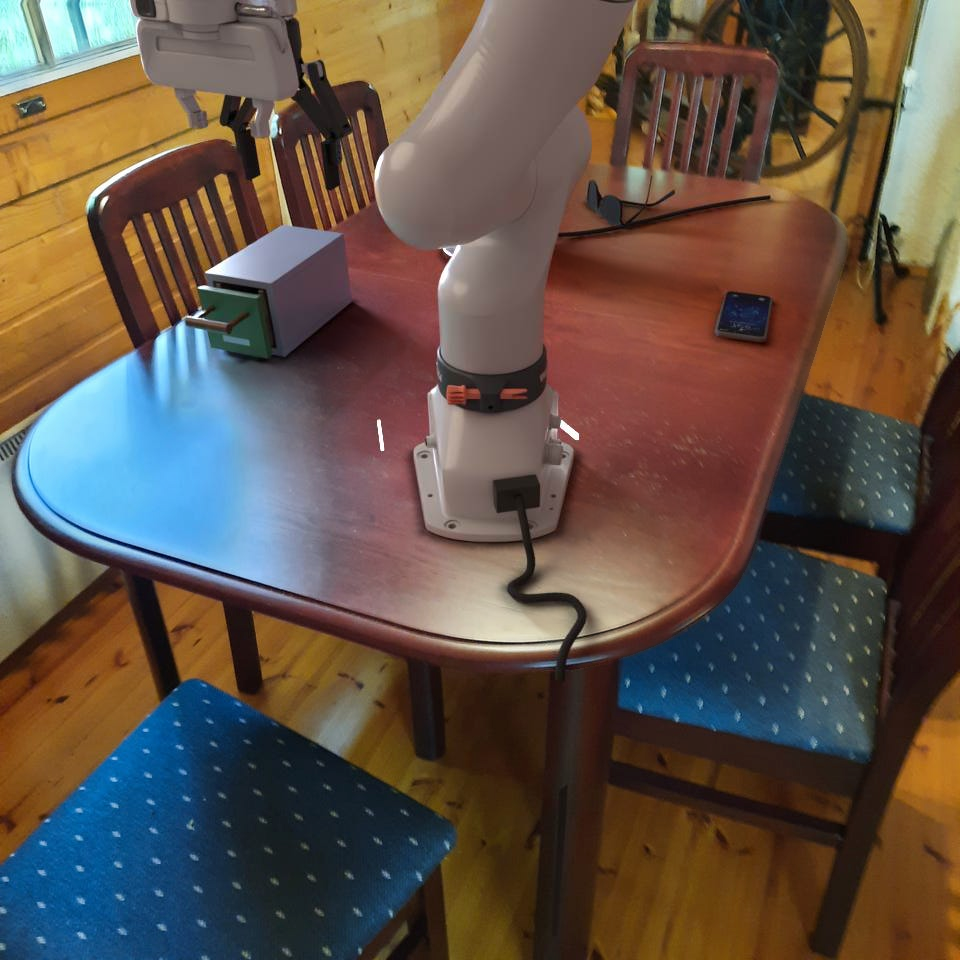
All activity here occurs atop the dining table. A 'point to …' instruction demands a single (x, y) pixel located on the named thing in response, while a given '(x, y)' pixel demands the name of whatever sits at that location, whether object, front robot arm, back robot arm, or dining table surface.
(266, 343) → the drawer
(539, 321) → the front robot arm
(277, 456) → the dining table surface
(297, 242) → the cabinet
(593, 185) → the sunglasses
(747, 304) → the smartphone
